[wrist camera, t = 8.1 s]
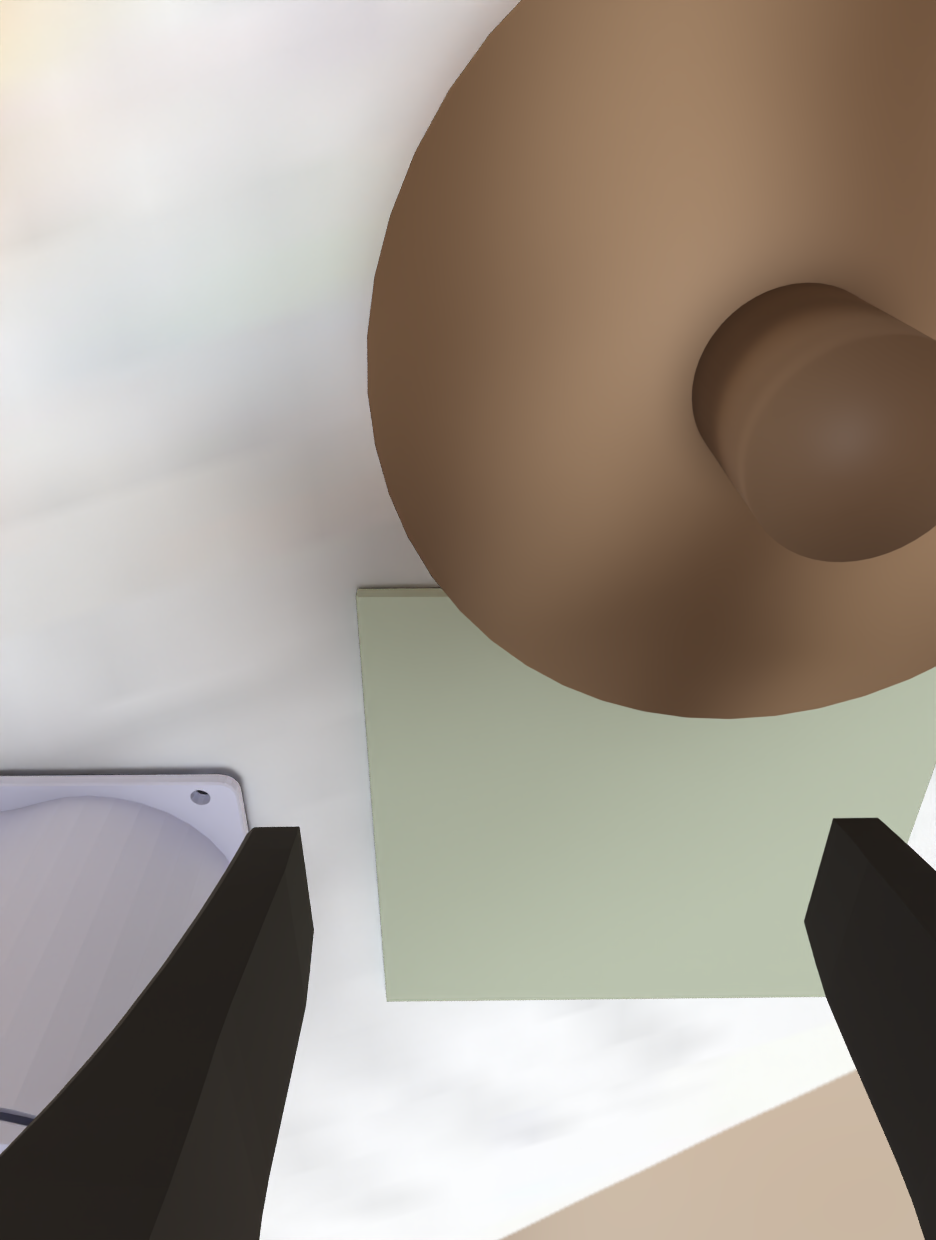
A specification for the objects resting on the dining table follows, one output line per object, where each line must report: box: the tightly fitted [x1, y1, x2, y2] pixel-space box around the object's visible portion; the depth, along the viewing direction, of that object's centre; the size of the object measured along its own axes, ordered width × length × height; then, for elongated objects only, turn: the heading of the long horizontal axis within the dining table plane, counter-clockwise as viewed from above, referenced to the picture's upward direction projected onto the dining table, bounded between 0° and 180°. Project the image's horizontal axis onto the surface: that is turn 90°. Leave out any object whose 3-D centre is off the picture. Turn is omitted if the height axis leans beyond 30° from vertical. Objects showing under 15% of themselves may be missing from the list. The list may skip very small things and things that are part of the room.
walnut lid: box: [367, 0, 936, 719], centre depth 13 cm, size 13×13×4 cm
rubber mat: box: [356, 588, 936, 1002], centre depth 25 cm, size 15×15×1 cm
